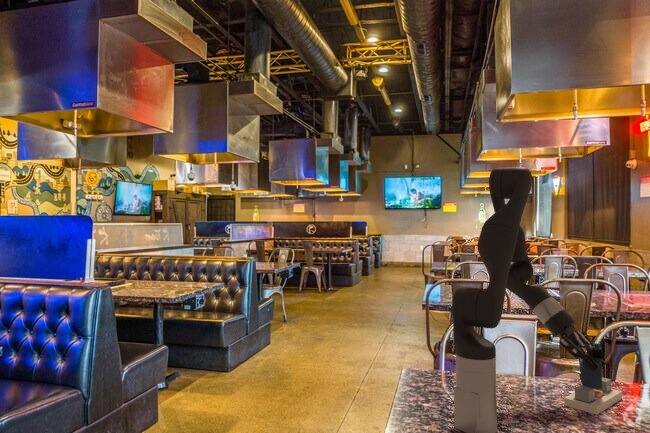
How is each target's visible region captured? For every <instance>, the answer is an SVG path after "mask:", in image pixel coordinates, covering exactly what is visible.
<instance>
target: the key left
mask: <svg viewBox="0 0 650 433" xmlns="http://www.w3.org/2000/svg"><path fill="white" fill-rule="evenodd" d="M574 392H575V399H579V400H583V401H586V402H591V401H592V400H594V399H595V398H594V388H590V387H586V386H582V384H579V385H577V386H575V387H574Z"/></svg>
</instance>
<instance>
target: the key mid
mask: <svg viewBox="0 0 650 433" xmlns="http://www.w3.org/2000/svg"><path fill="white" fill-rule="evenodd" d="M594 397H595V398H599V399H600V398H601V397H603V391H600V390H596V389H594Z"/></svg>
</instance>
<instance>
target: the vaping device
mask: <svg viewBox="0 0 650 433" xmlns="http://www.w3.org/2000/svg"><path fill="white" fill-rule="evenodd" d="M594 344H595V346H592V358H593V359H594V361H595V362H596V363H597V364H598V365H599V368H598V369H596V370H595V371H592V370H591V369H590V368H589V367H588V366H587V364H586V363H585V362H584V361H583V360H581V362H580V380H581V381H580V385H582V386H586V387H590V388H594V389H602V377H603V368H604V366H602V359H603V348H602V347H601V346H600V343H595V342H594Z"/></svg>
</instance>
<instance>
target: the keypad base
mask: <svg viewBox="0 0 650 433" xmlns="http://www.w3.org/2000/svg"><path fill="white" fill-rule="evenodd" d="M594 398H595V397H594ZM622 399H623V391H621V390H618V389H614V388H611V390H609V391H608V392H604V391H603V397H601V398H600V399H599V398H595V399H594V400H592V401H591V402H586V401H583V400H579V399H575V391H574V392H573V393H571V394H569V395H567V396H565V397H564V398H563V400H564V402H563V404H564V407H565V406H566V407H569V408H572V409H576V410H579V411H582V412H587V413H590V414H593V415H599V414H601V413H602V412H603V411H605V410H606V409H607V410H608V409H609V408H610V407H611V406H613V405H614V404H616V403H618V402H620V401H621V400H622Z"/></svg>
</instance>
